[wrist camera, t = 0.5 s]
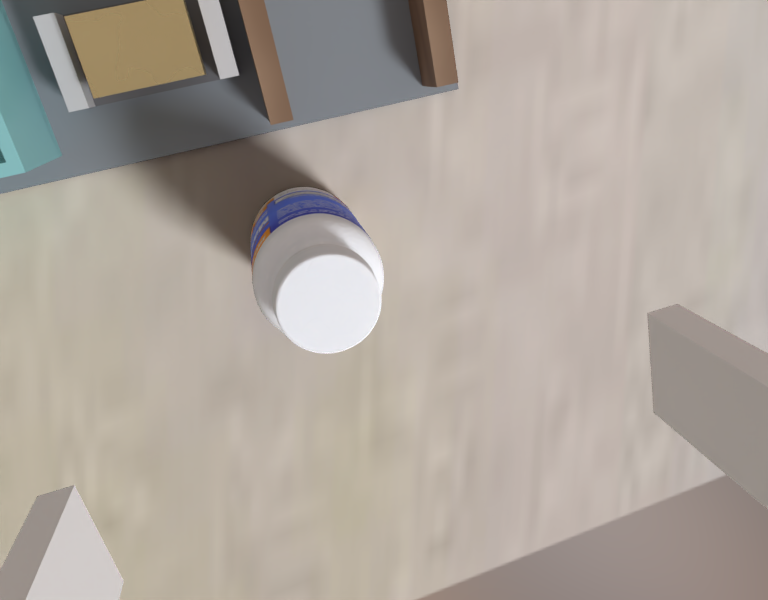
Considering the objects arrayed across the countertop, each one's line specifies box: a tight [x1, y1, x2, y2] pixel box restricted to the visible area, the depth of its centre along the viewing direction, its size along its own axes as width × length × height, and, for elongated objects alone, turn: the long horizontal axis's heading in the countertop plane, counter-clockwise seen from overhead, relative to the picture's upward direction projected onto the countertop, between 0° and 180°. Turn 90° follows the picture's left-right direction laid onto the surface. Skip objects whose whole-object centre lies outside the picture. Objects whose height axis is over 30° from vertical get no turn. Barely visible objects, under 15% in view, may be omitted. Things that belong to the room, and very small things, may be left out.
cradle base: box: [33, 0, 240, 112], centre depth 26 cm, size 7×4×2 cm, turn 102°
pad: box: [64, 0, 207, 99], centre depth 25 cm, size 4×3×1 cm
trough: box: [238, 0, 458, 125], centre depth 27 cm, size 8×8×2 cm
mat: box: [0, 0, 458, 194], centre depth 27 cm, size 26×9×1 cm, turn 102°
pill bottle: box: [251, 187, 384, 354], centre depth 27 cm, size 5×5×10 cm
